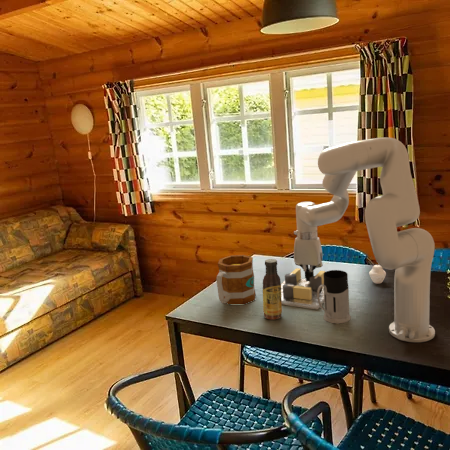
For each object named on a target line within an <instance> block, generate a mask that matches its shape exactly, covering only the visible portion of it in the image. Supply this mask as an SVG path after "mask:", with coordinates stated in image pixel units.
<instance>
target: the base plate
mask: <svg viewBox="0 0 450 450" xmlns="http://www.w3.org/2000/svg"><path fill="white" fill-rule="evenodd" d="M284 284H285V280H283V282H281V297H282V305H284V306H291V307H297V308H302V309H303V308H304V309H312V310H316V311H317V310H319V309H321V308H320V306H319V303H318V299H317V291H315V290H311V291H312V299H311V300H306V299H298V298H291V299H287V298H284V297H283V285H284ZM322 285H324V283H323V284H322ZM296 286H302V287H310V282H309V281H306V278H301V279H300V280H299V281H298V282H297V285H296ZM319 298H320V303H321V305H322V306H323V304H324V286H322V289H321V290H320V292H319Z"/></svg>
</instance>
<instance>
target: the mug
mask: <svg viewBox="0 0 450 450" xmlns="http://www.w3.org/2000/svg"><path fill="white" fill-rule="evenodd" d="M253 260H254V257H252V256H249V255H245V254H238V255H236V254H231V255H228V256H224V257H222V258H219V259H218V262H217V267H218V271H219V272H218V274H217V275H216V286H217V293H218V300H219V302H220V303H222V304H226V303H228V304H245V305H247V304H249V303H248V302H250V303H252V302H254V301H253V300H255V301H256V297H255V296H256V289H255V273H254V266H253V265H254V264H253V262H254V261H253ZM251 301H252V302H251ZM246 303H247V304H246ZM228 304H227V305H228Z"/></svg>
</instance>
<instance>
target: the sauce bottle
mask: <svg viewBox="0 0 450 450" xmlns="http://www.w3.org/2000/svg"><path fill="white" fill-rule="evenodd" d="M264 266H265V275H264V276H263V279H262V305H263V306H262V307H263V312H262V313H263V317H264V318H265V319H266V320H273V321H274V320H279V319H281V317H282V313H283V306H282V305H283V304H282V297H281V283H282V282H281V276H279V273H278V260H277V259H275V258H269V259H265V260H264Z"/></svg>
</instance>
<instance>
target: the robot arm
mask: <svg viewBox="0 0 450 450" xmlns="http://www.w3.org/2000/svg"><path fill="white" fill-rule="evenodd" d="M317 166H318V167H317V168H318V169H319V171H320V172H321V174H323V175H324V177H323V179H322V186H323V188H324V190H325V191H327V193H329V194H331V195H333V196H332V198H331V199H330V201H328V202H323V203H319V204H316V203H315V202H312V201H301V202H298V203H297V204H296V205H295V219H296V230H293V235H296V237H295V238H294V245H293V261H294V263H295V265H296V266H299V267H300V269H301V270H303V272H304V279H306V281H309V282H310V277H312V276H315V275H314V274H315V273H314V272H315V271H314V270H316V269H317V268H318V269H319V268H322V267H323V265H324V263H323V249H322V244H321V240H320V237H318V227H319V226H323V225H328V224H332V223H337V222H338V221H339V220H341V219H342V217H343V216H344V214H345V212H346V210H347V209H348V206H349V204H350V200H349V199H350V196H349V195H350V194H349V192H348V188H349V186H350V184H351V182H352V181H353V179H354V177H355V175H356V174H357V172H358V171H364V170H369V169H374V168H381V167H382V169H381V172H380V177H379V183H380V187H381V191H382V195H379V196H375V197H373V198H372V199H370V200H369V201H368V202H367V204H366V206H365V210H364V220H365V224H366V229H367V233H368V238H369V242H370V246H371V248H372V249H371V250H372V252H373V253H372V254H373V256H374V259H375V261H376V263H378V264H377V265H380V266H381V267H382V269H385V270H394V271H395V272H394V281H393V282H394V283H393V285H394V286H393V288H394V290H393V293H394V297H393V299H394V300H393V301H394V304H393V305H394V306H393V307H394V309H393V310H394V311H393V313H394V315H393V316H394V319H393V320H394V321H393V322H391V323H390V324H389V325H388V331H389V334H390V335H391V336H392V337H394V338H395V339H397V340H399V341H403V342H408V343H425V342H429V341H431V340H432V339H434V338H435V336H436V330H435V328H434V326H432V325H431V324H430V303H431V302H430V300H431V299H430V297H431V296H430V293H431V291H430V290H431V273H432V271H431V269H432V264H433V263H432V262H433V259H434V255H435V248H436V246H435V241H434V238H433V236H432V235H431V233H430V232H429V231H427V230H425V229H424V228H420V227H412V228H408V229H404V230H400V231H398V228H399V227H402V226H403V227H404V226H405V225H409V224H412V223H414V222H415V221H417V220H418V219H419V217H420V215H421V214H420V213H421V211H420V210H421V209H420V204H419V200H418V195H417V192H416V188H415V184H414V180H413V177H412V173H411V166H410V157H409V154H408V149H407V148H406V146H405V145H404V143H402V141H400V140H398V139H397V138H394V137H387V136H386V137H376V138H375V137H374V138H369V139H362V140H361V139H360V140H356V141H351V142H350V141H349V142H346V143H342V144H338V145H336V146H331V147H326V148H324V149H323V150H322V151H321V153H320V154H319V155H318V159H317Z"/></svg>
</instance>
